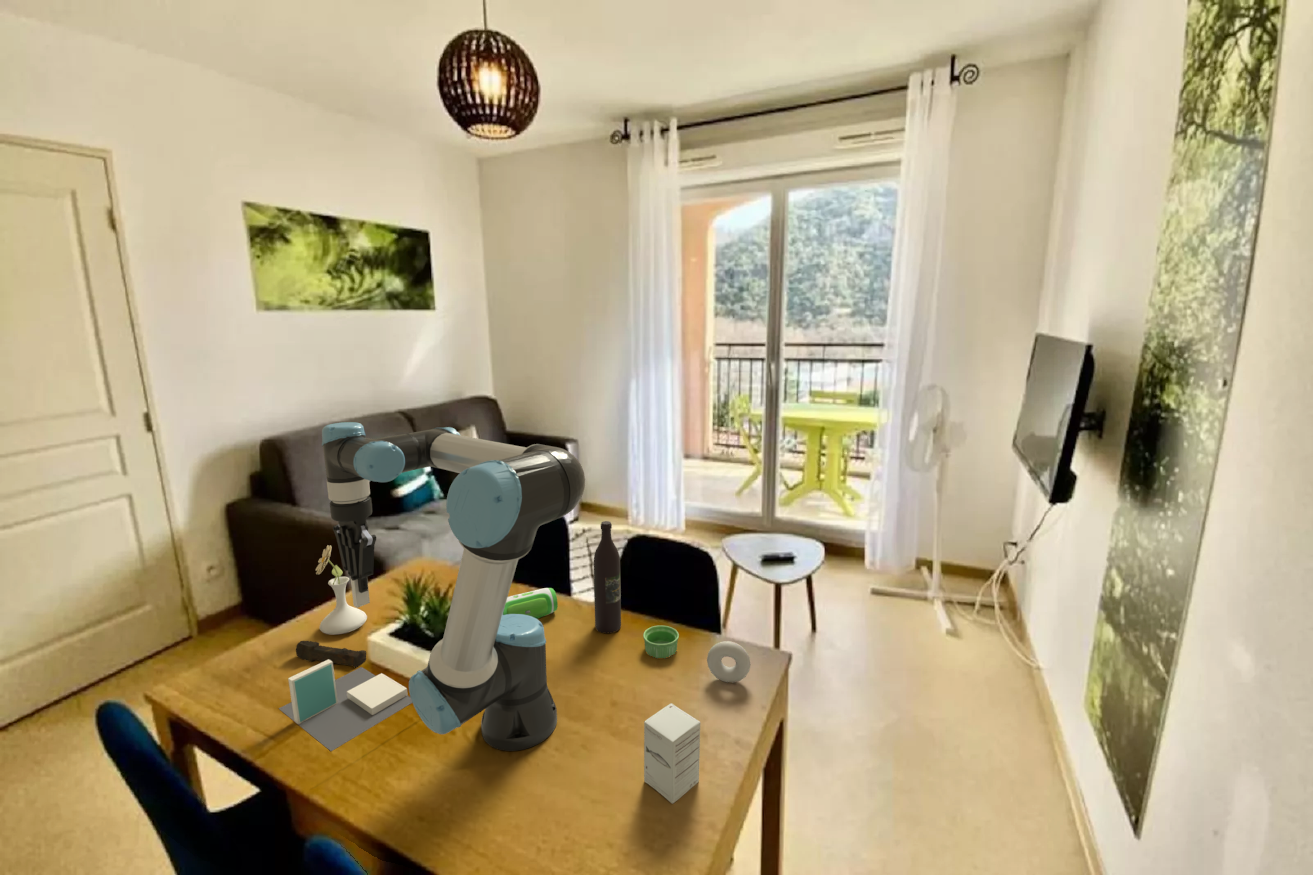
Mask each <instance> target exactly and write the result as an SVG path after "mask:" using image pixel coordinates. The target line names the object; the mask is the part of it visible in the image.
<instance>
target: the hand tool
mask: <svg viewBox="0 0 1313 875" xmlns="http://www.w3.org/2000/svg"><path fill="white" fill-rule="evenodd" d="M295 654H296V656H297V658H299V659H301V660H304V661H308V662H310V663H313V662H315V661H320V662H324V661H326V660H328V659H329V660H331V661H332V662H333V664H336V665H341V666H342V665H344V666H351V667H353V668H354V669H358V668H360V666H361V665H362V664H364V663H365V662H366V661H367V650H363V649H362V650H355V649H353V650H352V649H349V648H345V647H344V648H341V647H331V646H325V645H321V644H320V642H318V641H311V640H301V641H299V642H298V643H297V644H296V647H295Z"/></svg>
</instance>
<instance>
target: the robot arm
mask: <svg viewBox="0 0 1313 875" xmlns="http://www.w3.org/2000/svg"><path fill="white" fill-rule="evenodd" d="M364 427H365V426H364V425H363V424H362V423H359V422H355V421H354V422H353V421H352V422H351V421H348V422H347V421H346V422H345V421H344V422H336V423H331V424H326V425H324V427H322V429H321V439H322V440H321V441H322V442H321V447H322V449H323V450H322V451H323V459H324V467H325V474H326V487H327V494H328V495H327V496H328V500H329V501H330V502H329V509H330V517H331V519H332V520H333V521H334V522H338V524H336V525H333V526H332V531H333V532H334V535H335V538H336V542H337V546H338V550H339V551H338V552H339V555H340V559H341V560H340V561H341V564H342V565H341V566H342V568H343V571H344V572H346V571H347V574H348V576H349V579H350V585H351V593H352V603H353V604H352V605H353V607H354V608H357V609H359V608H360V607H362V606H365V605H368V604H370V603H371V600H370V592H369V581H368V580H369V579H368V577H369V576H372V575H374V567H375V566H374V564H375V561H374V560H375V544H376V542H377V536H376V535H375V534H371V533H369V525H368V523H367V519H368V517H370V516H371V515H372V514H373V503H372V502H373V501H372V497H371V496H370V495H371V489H370V482H371V481H372V482H374V483H375V482H376V483H377V482H378V483H388V482H391V481H393V480H395V479H397V478H398V476H400V475H401V474H402V473H407V472H412V471H416V470H420V469H425V468H429V467H430V468H431V467H432V468H435V469H441V470H446V471H449V472H454V473H457V474H458V475H457V476H456V477H455V478H454V479H453V480H452V483H451V485H450V486H449V489H448V493H447V495H446V496H447V497H446V505H445V506H446V509H445V510H446V513H447V514H448V515H449V517H448V519H447V522H448V526H449V528H450V530H451V532H452V533H453V536H454V537H455V538H456V539H457V540H458V541H457V542H459V544H460V546H461V547H462V548H463V551H462V555H461V558H460V559H461V560H460V565H459V569H458V573H457V577H456V582H455V586H454V590H453V594H452V598H451V602H450V608H449V612H448V616H447V620H446V624H445V625H446V626H445V629H444V634H443V638H442V639H440V640H439V641H438V642H437V643H436V644H435V645H434V647H433V648H432V650H431V651H430V654H429V658H428V662H427V666H426V667H425V668H424V669H421V670H418V671H417V672H416V673H414V674H412V676H411V677H410V678H409V681H408V692H409V697H411V700H412V702H413V703H412V705H413V708H414V709H415V712H416V713H417V715H418V716H419V718H420V719H421V721H422V722H423V723H424V725H425V726H426V727H427V729H429V730H430V731H431V732H434V733H435V734H437V735H438V734H439V735H446V734H448V733H450V732H451V731H453V730H455V729H457V728H460V727H461V726H462V725H464V724H465V723H466V722H468V721H469V720H471V719H473V717H475V716H477V715H478V714H479V713H482V711H483V713H482V717H481V722H480V725H481V734H482V735H481V736H482V738H483V740H484V742H486V744H488V745H489V746H490V747H491V748H494V749H497V750H500V751H509V752H514V751H522V750H526V749H530V748H532V747H535V746H537V745H538V744H540V743H542V742H544V741H546V739H548V737H550V735H551V734H552V733H553V732H554V730H555V729H556V727H557V722H558V713H557V712H558V709H557V706H556V702H555V701H554V698H553V696H552V693H551V691H550V689H549V687H548V681H547V680H548V678H547V652H546V651H547V650H546V649H547V648H546V643H547V638H546V637H545V628H544V625H543V623H542V622H541V621H540V620H539V618H538V619H536V618H534V617H532V616H528V615H523V614H506V615H503V611H504V608H505V604H506V601H507V597H509V593H510V590H511V587H512V583H513V580H514V576H515V572H516V568H517V565H518V562H519V560H520V559H522V558H524V557H525V556H526V555H528V554H529V552H530V551H531V550H532V547H533V545H534V541H535V537H536V535H537V531H538V529H539V527H540V526H542V525H545V524H548V523H550V522H552V521H555V520H557V519H561V518H562V517H564V516H566V515H568V514H570V513H571V512H572V511H573V510H574V509H575V508H576V507H577V506H578V504H579V502H580V501H581V499H582V497H583V495H584V492H585V488H586V487H585V486H586V477H585V472H584V469H583V466H582V464H581V463H580V461H579V460H578V459H577V457H576V456H575V455H574V454H572V453H571V452H569V451H568V450H566V449H564V448H561V447H557V446H551V445H547V444H546V445H545V444H540V443H536V444H535V443H534V444H531V445H529V446H527V447H525V446H519V445H514V444H509V443H503V442H499V441H492V440H487V439H482V438H476V437H472V436H466V435H461V434H460V432H458V431H457V429H455V428H453V427H451V426H448V427H447V426H445V427H435V428H432V429H426V430H421V431H415V432H409V433H404V434H398V435H397V434H395V435H390V436H385V437H384V436H383V437H380V438H370V437H369V438H368V437H366V431H365V428H364Z"/></svg>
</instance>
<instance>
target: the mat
mask: <svg viewBox="0 0 1313 875" xmlns="http://www.w3.org/2000/svg"><path fill="white" fill-rule="evenodd" d="M375 676H376V675H375V674H374V673H372V672H371V671H369V670H367V669H366V668H364V667H362V666H361V667H360V666H359V667H357V668H355V669H354V670H353V671H351V672H348V673H347V674H344V675H343V676H340V677H338V678H337V679H336V678H335V684H336V692H337V700H338V703H337V704H336V705H334V706H332V707H330V708H328V709H326V710H324V711H323V712H321V713H319V714H317V715H315V716H313V717H311V718H309V719H308V720H306V721H304V722H302V723H300V724H297V725H298V726H299V727H300V728H301V729H303V730H304V731H305V732H307V733H308V734H309V735H311V737H312V738H314V739H315V740H317V741H318V742H319V743H320V744H322V746H324V747H325V748H326V749H328V750H329V752H333V751H334V750H336V749H337V748H339V747H341V746H343V745H344V744H346V743H348V742H349V741H351V740H352V739H355V738H356V737H358V736H360V735H361V734H362V733H364V732H366V731H368V730H370V729H371V728H372V727H375V726H376V725H378V724H379V723H381V722H383V721H384V720H386V719H388V718H389V717H392V716H393V715H394V714H396V713H398V712H399V711H401V710H403V709H404V708H406V707H407V706H410V705H411V704H413V702H412V700H411V697H410V695H407V696H405V697H403V698H402V699H400V700H398V701H396V702H395V703H393V704H391V705H390V706H388V707H386V708H384V709H383V710H381V711H379V712H377V713H376V714H374V715H371V714H370V713H369V712H367V711H366V710H364V709H363V708H361V707H360V706H358V705H357V704H356V703H354V702H353V701H351V700H350V699H348V698H347V691H349V690H350V689H352V688H354V687H356V686H358V685H360V684H362V683H364V682H366V681H368V680H370V679H371V678H373V677H375ZM278 709H279V711H281V712H282V713H283V714H284V715H285V716H287V717H288V718H289V719H291V721H293V722H294V723H296V722H295V721H294V714H293V708H292V701H291V702H289V703H287V704H285V705H283V706H281V707H279V708H278Z"/></svg>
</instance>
